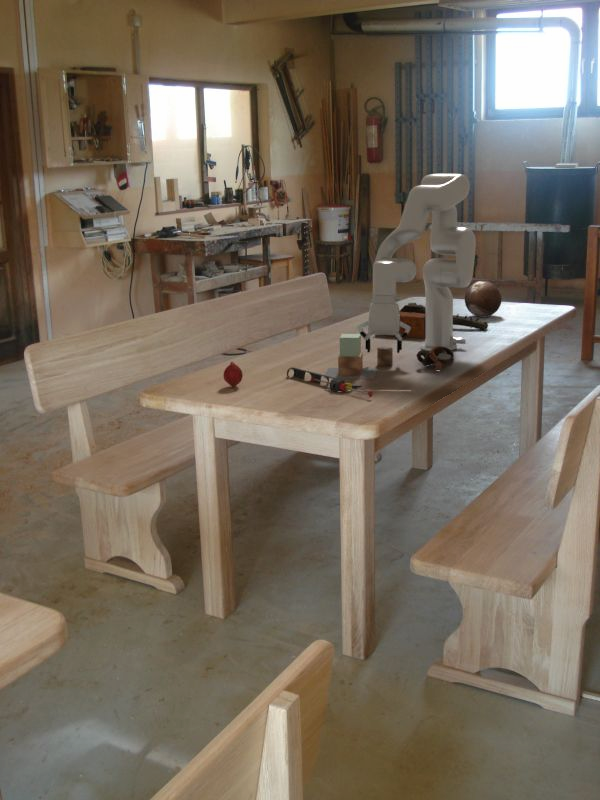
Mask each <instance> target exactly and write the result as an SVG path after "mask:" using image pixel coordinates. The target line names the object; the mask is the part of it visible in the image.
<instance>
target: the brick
mask: <svg viewBox="0 0 600 800" xmlns="http://www.w3.org/2000/svg"><path fill="white" fill-rule="evenodd" d="M399 313H400V321H401V322H403V323H404V324H406V325H408V326H410V327H411V329H410V331H409V333H408V334H407V336H406V337H405V338H409V339H419V340H422V339H424V338H425V314H422V313H414V312H412V313H408V312H401V311H400V310H399ZM405 330H406V329H405V328H403V327H401V326H400V331H399V333H400V334H401V335H402V334H403V333H404V332H405ZM385 336H386V337H396V336H395V335H385Z"/></svg>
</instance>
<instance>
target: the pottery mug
mask: <svg viewBox="0 0 600 800" xmlns="http://www.w3.org/2000/svg"><path fill="white" fill-rule="evenodd" d="M443 350H444V351H443ZM444 352H445V353H446V355H448V356H450V357H449V358H439V355H440V354H442V353H444ZM422 356H423V357H422ZM454 356H455V355H454V352H453V350H450V349H448V348H446V347H443V346H436V347H434V348H433V349H432V350H431V351H427V350H423V349H421V350H419V351H417V353H416V358H417V360H418V362H419V363H421V364H422V366H423V367H426V366H427V365H429V366H432V365H435V368H434V371H436V370H441V371H442V370H444V369H446V368H449V367H451V366H452V365H453V364H454V362H455V358H454ZM431 364H432V365H431ZM436 364H437V365H436ZM427 367H428V366H427Z"/></svg>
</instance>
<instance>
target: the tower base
mask: <svg viewBox="0 0 600 800" xmlns="http://www.w3.org/2000/svg"><path fill="white" fill-rule="evenodd" d="M363 359H364V357H363V352H362V351H361V353H360V356H359V357H340V353H339V354H338V356H337V361H338V362H337V363H338V364H337V366H338V367H337V368H338V375H342V376H361V374H362V371H363V368H364V365H363V364H364V363H363V362H364V361H363Z"/></svg>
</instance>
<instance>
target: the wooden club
mask: <svg viewBox="0 0 600 800" xmlns="http://www.w3.org/2000/svg"><path fill="white" fill-rule="evenodd" d="M399 311H401V312H408V313H412V312H414V313H422V314H425V305H422V304H417V303H416V302H408V304H405V305H404V306H403V307H401V309H399ZM479 319H480V317H477V318H473V316H472V315H471V316H470V317H468V315H465V316H464V315H461V316H460V314H459V313H457V314H456V315H455V314H453V326H462V327H469V328H470V329H472V328H474V329H477V330H481V331H485V330H487V329H488V327H489V324H488V322H487V321H482V320H479Z"/></svg>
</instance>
